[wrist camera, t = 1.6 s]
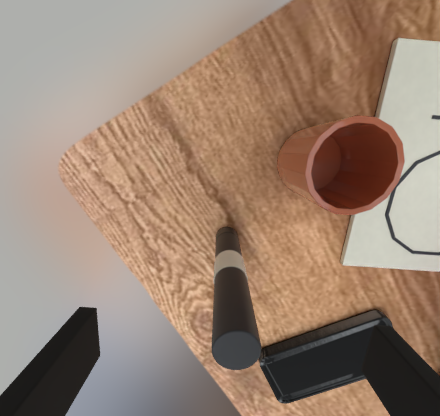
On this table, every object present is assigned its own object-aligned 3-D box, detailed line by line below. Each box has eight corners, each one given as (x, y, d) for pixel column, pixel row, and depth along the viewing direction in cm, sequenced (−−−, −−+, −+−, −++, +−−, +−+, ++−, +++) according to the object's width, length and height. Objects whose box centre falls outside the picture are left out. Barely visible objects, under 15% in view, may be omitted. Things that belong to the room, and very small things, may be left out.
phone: (256, 359, 25) (389, 314, 23) (255, 351, 26) (381, 307, 24) (280, 406, 27) (404, 367, 25) (278, 396, 28) (396, 358, 26)
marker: (216, 225, 22) (212, 328, 9) (239, 227, 22) (266, 331, 9) (214, 246, 22) (208, 370, 10) (237, 248, 22) (259, 373, 10)
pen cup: (282, 124, 19) (315, 111, 13) (348, 130, 20) (417, 120, 13) (272, 191, 21) (298, 211, 14) (334, 195, 21) (389, 217, 14)
